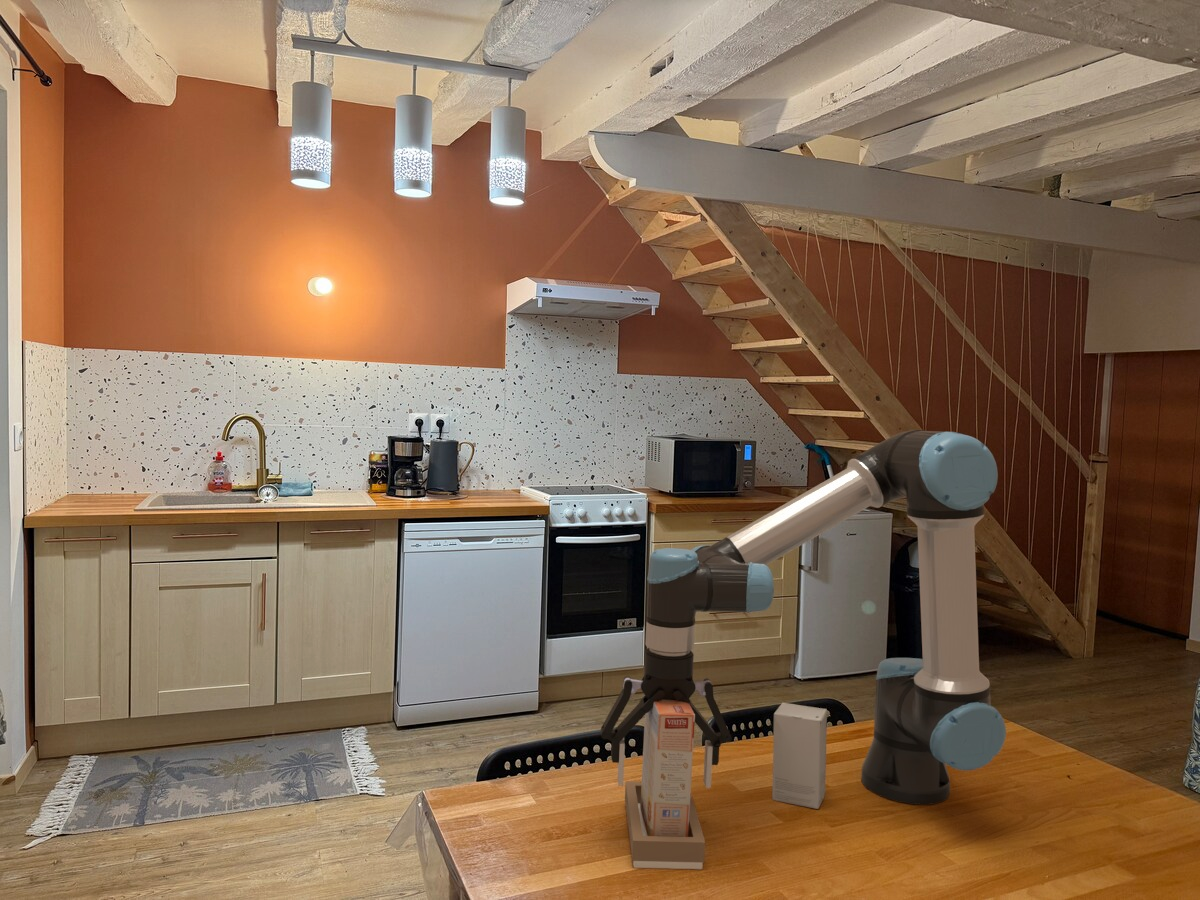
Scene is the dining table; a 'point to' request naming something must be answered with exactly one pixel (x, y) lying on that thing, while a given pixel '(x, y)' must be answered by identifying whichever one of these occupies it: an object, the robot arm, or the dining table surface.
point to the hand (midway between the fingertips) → (663, 783)
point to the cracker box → (667, 768)
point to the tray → (662, 838)
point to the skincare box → (799, 755)
